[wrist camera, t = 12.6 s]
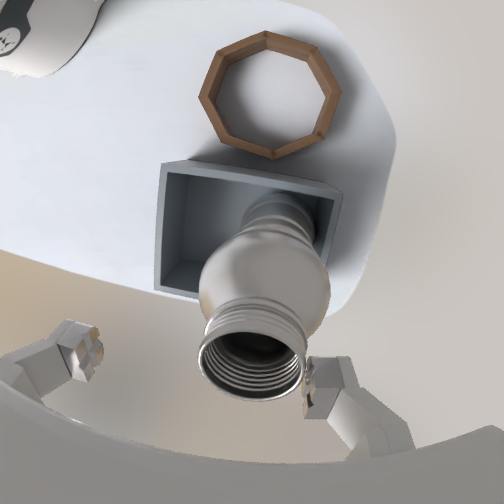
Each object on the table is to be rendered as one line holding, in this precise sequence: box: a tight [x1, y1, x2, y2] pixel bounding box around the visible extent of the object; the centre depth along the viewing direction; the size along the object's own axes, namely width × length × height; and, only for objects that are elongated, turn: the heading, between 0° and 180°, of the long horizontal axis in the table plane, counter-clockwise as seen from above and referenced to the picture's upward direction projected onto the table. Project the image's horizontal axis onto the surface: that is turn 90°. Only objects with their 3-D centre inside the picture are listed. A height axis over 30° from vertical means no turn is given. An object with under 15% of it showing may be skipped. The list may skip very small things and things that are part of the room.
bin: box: [154, 160, 344, 299], centre depth 25 cm, size 14×11×7 cm
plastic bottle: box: [198, 193, 331, 402], centre depth 18 cm, size 6×7×20 cm
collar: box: [198, 31, 341, 160], centre depth 23 cm, size 12×12×3 cm
